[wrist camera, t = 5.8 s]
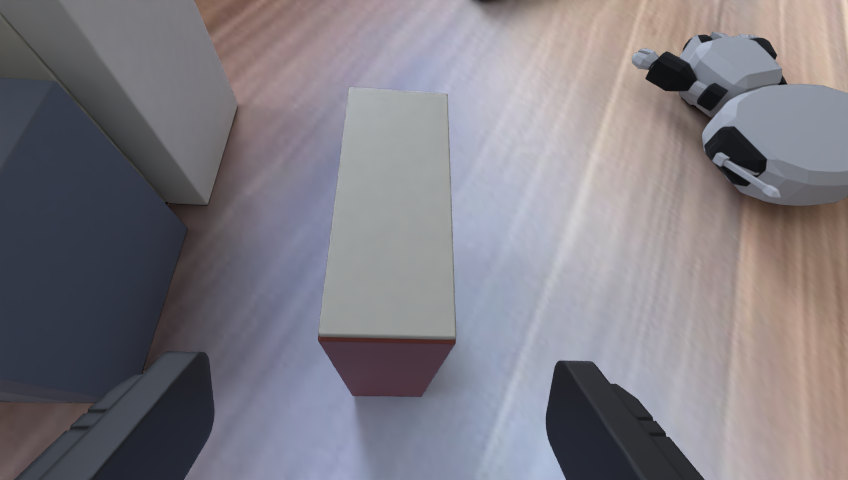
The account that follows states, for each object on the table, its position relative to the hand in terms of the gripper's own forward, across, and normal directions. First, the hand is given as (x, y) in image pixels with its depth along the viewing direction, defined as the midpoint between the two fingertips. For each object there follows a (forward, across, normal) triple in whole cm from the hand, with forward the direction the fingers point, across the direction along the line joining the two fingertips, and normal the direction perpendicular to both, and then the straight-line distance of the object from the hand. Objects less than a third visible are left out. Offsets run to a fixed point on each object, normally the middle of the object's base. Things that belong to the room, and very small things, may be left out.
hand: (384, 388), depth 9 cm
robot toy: (+21, -24, -6) cm, 32 cm away
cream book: (+11, 0, +4) cm, 12 cm away
